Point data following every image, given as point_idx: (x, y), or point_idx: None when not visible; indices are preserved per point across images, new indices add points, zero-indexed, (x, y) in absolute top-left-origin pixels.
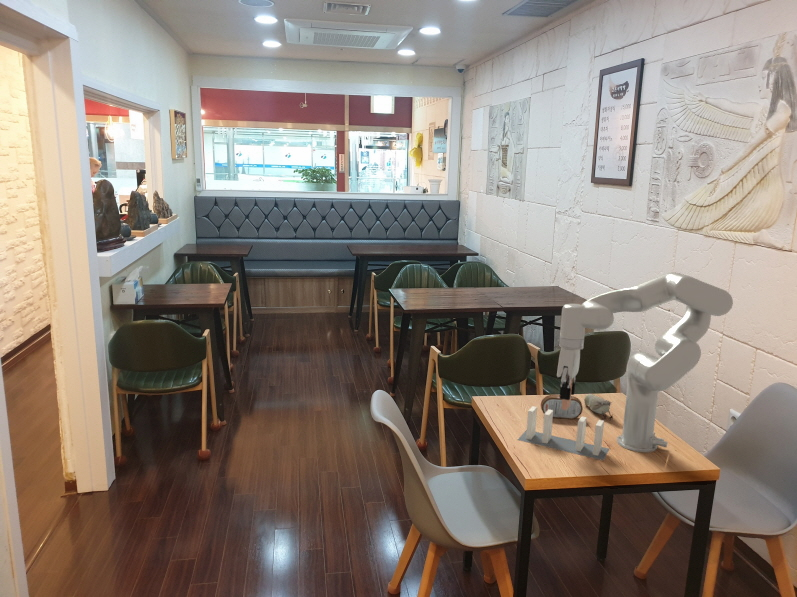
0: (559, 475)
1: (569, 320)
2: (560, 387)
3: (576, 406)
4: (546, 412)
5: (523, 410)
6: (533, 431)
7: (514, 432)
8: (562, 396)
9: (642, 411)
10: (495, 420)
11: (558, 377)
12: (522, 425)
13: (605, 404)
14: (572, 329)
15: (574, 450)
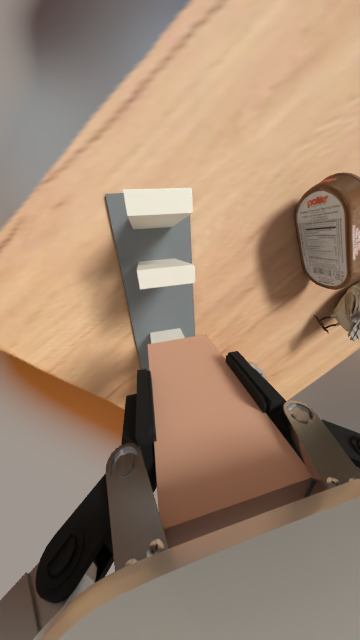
0: (19, 352)
1: None
2: (136, 428)
3: (332, 277)
4: (158, 270)
5: (322, 121)
6: (155, 226)
7: (155, 160)
8: (127, 397)
9: None
10: (208, 38)
11: (47, 628)
12: (216, 164)
13: (352, 326)
14: None
15: (148, 331)
